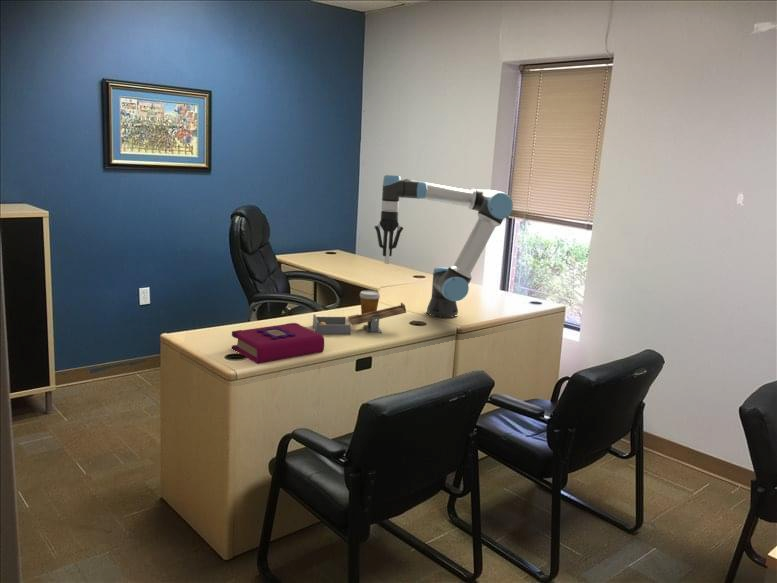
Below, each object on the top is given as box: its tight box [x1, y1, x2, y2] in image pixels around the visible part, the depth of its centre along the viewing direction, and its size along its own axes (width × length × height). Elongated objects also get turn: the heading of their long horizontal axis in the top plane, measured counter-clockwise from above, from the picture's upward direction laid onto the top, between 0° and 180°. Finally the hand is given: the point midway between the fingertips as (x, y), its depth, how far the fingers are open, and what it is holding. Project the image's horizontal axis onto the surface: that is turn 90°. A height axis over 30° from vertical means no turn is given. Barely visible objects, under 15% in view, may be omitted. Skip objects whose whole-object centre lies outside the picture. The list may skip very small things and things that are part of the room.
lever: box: [347, 302, 407, 326], centre depth 280 cm, size 24×11×3 cm, turn 102°
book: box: [231, 322, 325, 364], centre depth 242 cm, size 21×28×8 cm
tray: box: [312, 314, 352, 335], centre depth 274 cm, size 14×14×5 cm
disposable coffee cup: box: [359, 290, 381, 315], centre depth 297 cm, size 10×10×12 cm
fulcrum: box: [363, 312, 383, 334], centre depth 278 cm, size 6×11×7 cm, turn 13°
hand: (386, 263), depth 290 cm, fingers closed
